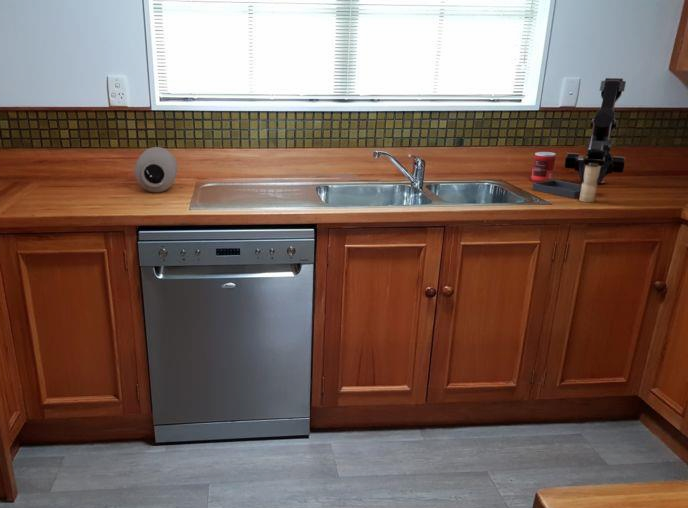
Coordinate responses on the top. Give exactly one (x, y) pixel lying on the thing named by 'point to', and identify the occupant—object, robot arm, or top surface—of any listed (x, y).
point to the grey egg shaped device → (155, 169)
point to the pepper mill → (589, 182)
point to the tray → (559, 188)
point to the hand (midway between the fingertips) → (589, 182)
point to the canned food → (543, 166)
